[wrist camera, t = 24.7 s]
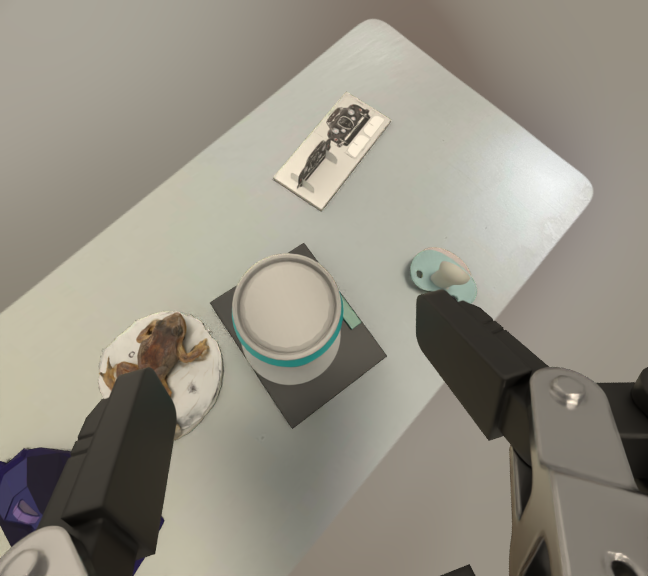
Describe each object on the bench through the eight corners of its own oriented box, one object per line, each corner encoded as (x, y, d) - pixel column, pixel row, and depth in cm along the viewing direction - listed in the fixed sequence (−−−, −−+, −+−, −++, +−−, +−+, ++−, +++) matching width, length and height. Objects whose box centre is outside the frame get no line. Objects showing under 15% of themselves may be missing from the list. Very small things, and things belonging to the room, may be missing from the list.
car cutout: (321, 211, 36) (324, 190, 32) (273, 179, 37) (270, 154, 32) (390, 122, 40) (401, 92, 35) (345, 94, 40) (351, 61, 36)
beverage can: (268, 300, 30) (240, 237, 16) (328, 309, 31) (355, 257, 16) (255, 361, 29) (211, 355, 14) (319, 372, 29) (338, 376, 15)
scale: (382, 356, 33) (390, 355, 30) (292, 425, 31) (291, 431, 28) (303, 249, 35) (304, 238, 32) (214, 306, 33) (206, 300, 30)
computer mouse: (113, 615, 26) (80, 657, 22) (-39, 524, 27) (-96, 550, 23) (178, 499, 28) (158, 520, 25) (36, 418, 29) (-4, 425, 25)
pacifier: (425, 238, 37) (397, 278, 35) (452, 211, 31) (419, 257, 29) (480, 276, 36) (453, 319, 34) (517, 256, 30) (488, 306, 28)
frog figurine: (134, 292, 33) (113, 282, 29) (245, 335, 32) (238, 331, 29) (72, 405, 30) (40, 410, 26) (193, 453, 29) (178, 465, 26)
